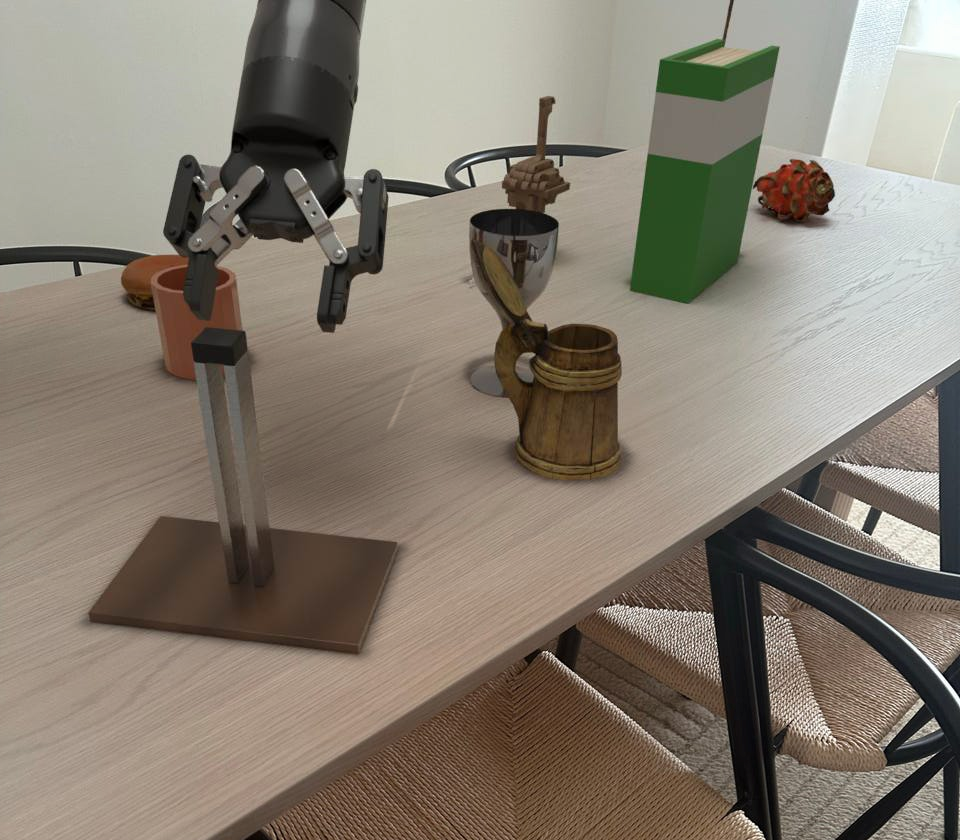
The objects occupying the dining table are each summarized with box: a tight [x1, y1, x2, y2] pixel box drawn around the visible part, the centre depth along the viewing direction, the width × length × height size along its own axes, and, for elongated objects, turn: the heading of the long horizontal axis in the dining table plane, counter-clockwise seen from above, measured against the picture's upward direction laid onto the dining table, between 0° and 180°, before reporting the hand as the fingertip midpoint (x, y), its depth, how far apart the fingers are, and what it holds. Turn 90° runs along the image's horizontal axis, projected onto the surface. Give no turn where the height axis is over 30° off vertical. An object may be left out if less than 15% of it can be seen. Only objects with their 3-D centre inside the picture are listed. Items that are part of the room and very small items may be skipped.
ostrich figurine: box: [467, 95, 571, 287], centre depth 116 cm, size 17×7×18 cm, turn 145°
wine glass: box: [468, 208, 560, 398], centre depth 92 cm, size 8×8×15 cm
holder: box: [151, 265, 244, 381], centre depth 94 cm, size 8×8×9 cm
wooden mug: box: [469, 239, 623, 481], centre depth 79 cm, size 9×14×18 cm, turn 81°
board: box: [87, 515, 398, 655], centre depth 68 cm, size 18×12×2 cm, turn 82°
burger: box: [120, 254, 189, 311], centre depth 108 cm, size 10×9×5 cm
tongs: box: [191, 327, 274, 587], centre depth 63 cm, size 2×2×17 cm
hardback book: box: [629, 38, 781, 304], centre depth 115 cm, size 18×7×24 cm, turn 150°
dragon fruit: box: [752, 158, 836, 223], centre depth 140 cm, size 8×8×12 cm
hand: (262, 321), depth 65 cm, fingers open, 8 cm apart
